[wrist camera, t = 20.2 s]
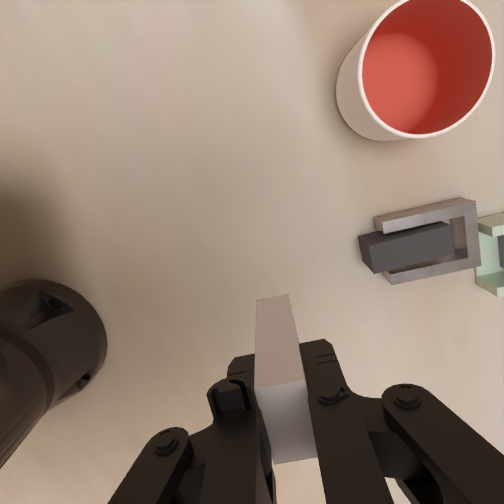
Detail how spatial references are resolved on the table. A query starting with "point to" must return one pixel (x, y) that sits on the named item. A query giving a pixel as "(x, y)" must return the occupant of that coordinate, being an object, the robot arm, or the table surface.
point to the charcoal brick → (406, 246)
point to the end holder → (490, 254)
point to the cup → (417, 70)
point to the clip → (462, 233)
